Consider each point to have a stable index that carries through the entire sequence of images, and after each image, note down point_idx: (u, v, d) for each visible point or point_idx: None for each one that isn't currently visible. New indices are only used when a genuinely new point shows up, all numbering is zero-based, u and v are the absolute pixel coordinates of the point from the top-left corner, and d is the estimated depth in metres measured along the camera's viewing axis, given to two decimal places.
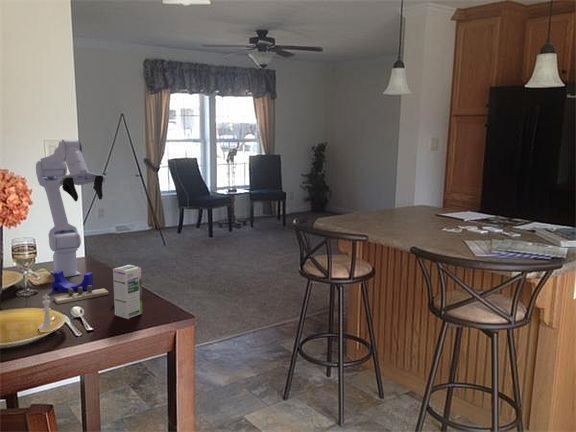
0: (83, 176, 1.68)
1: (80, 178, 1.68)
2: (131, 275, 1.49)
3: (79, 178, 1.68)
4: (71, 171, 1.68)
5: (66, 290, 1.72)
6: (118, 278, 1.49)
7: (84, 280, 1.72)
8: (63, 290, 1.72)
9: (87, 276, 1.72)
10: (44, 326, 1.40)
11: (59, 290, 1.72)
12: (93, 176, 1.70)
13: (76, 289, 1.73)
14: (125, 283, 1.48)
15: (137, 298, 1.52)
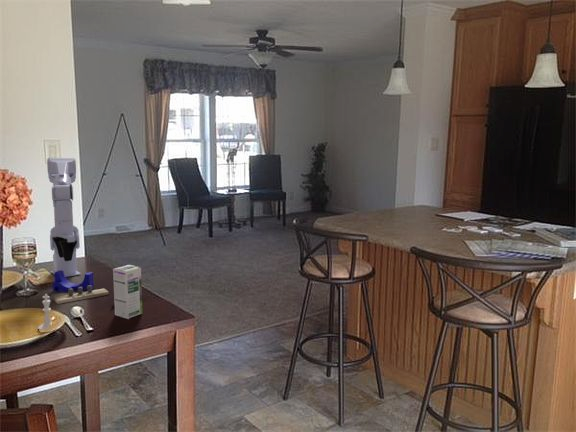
0: None
1: None
2: (131, 275, 1.49)
3: None
4: None
5: (67, 290, 1.72)
6: (118, 278, 1.49)
7: (85, 280, 1.73)
8: (64, 290, 1.72)
9: (88, 276, 1.72)
10: (44, 326, 1.40)
11: (60, 290, 1.72)
12: None
13: (77, 289, 1.73)
14: (125, 283, 1.48)
15: (137, 298, 1.52)
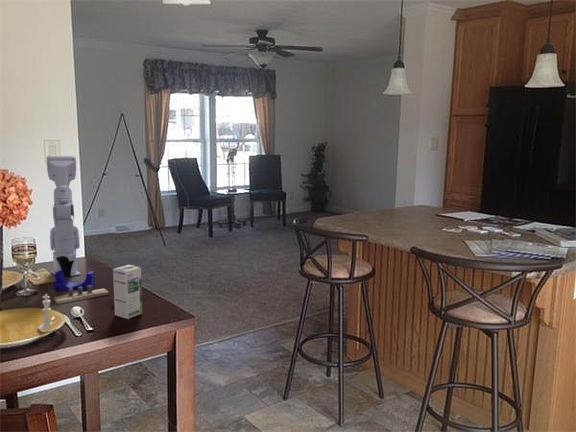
0: None
1: None
2: (131, 275, 1.49)
3: None
4: None
5: None
6: (118, 278, 1.49)
7: (87, 279, 1.74)
8: (65, 290, 1.73)
9: (90, 275, 1.74)
10: (44, 326, 1.40)
11: (61, 290, 1.73)
12: None
13: None
14: (125, 283, 1.48)
15: (137, 298, 1.52)
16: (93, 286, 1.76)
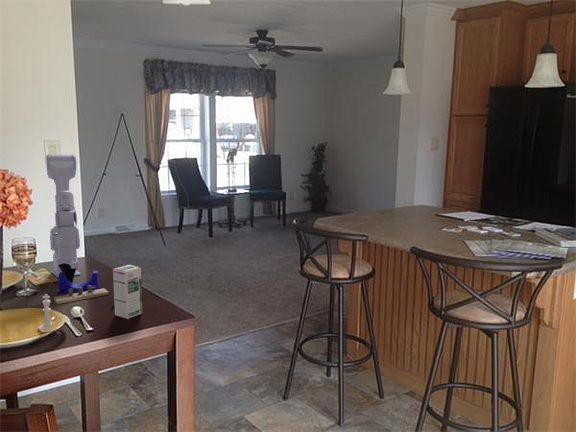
0: None
1: None
2: (131, 275, 1.49)
3: None
4: None
5: (75, 290, 1.71)
6: (118, 278, 1.49)
7: (93, 278, 1.73)
8: None
9: (96, 274, 1.73)
10: (44, 326, 1.40)
11: (67, 291, 1.70)
12: None
13: (84, 288, 1.73)
14: (125, 283, 1.48)
15: (137, 298, 1.52)
16: None
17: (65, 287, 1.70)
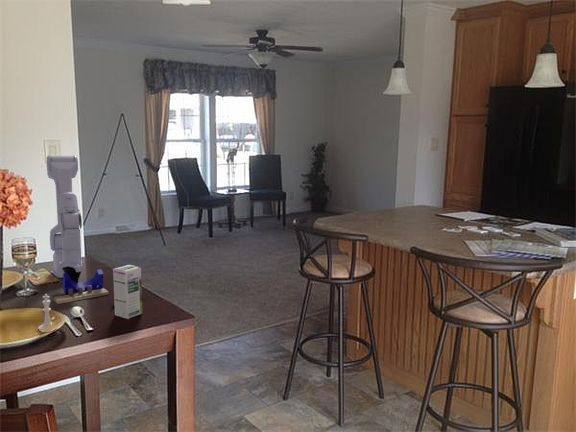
0: None
1: None
2: (131, 275, 1.49)
3: None
4: None
5: None
6: (118, 278, 1.49)
7: (98, 279, 1.72)
8: None
9: (102, 275, 1.72)
10: (44, 326, 1.40)
11: (73, 293, 1.68)
12: None
13: None
14: (125, 283, 1.48)
15: (137, 298, 1.52)
16: None
17: None
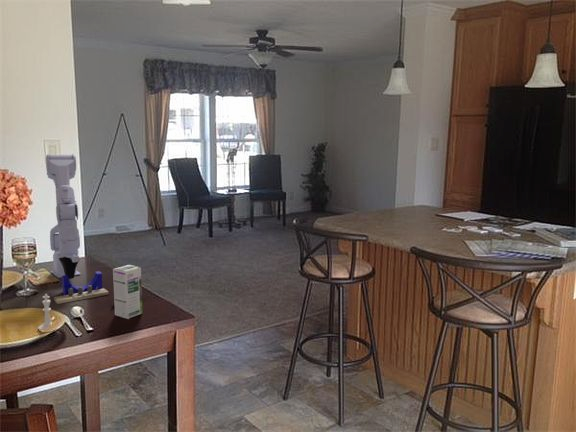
0: None
1: None
2: (131, 275, 1.49)
3: None
4: None
5: None
6: (118, 278, 1.49)
7: (97, 279, 1.74)
8: None
9: (100, 274, 1.74)
10: (44, 326, 1.40)
11: None
12: None
13: None
14: (125, 283, 1.48)
15: (137, 298, 1.52)
16: None
17: None
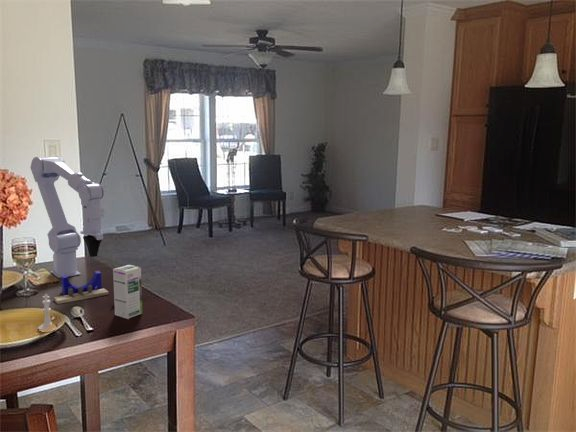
0: None
1: None
2: (131, 275, 1.49)
3: None
4: None
5: None
6: (118, 278, 1.49)
7: (96, 279, 1.74)
8: None
9: (100, 274, 1.74)
10: (44, 326, 1.40)
11: (73, 293, 1.69)
12: None
13: None
14: (125, 283, 1.48)
15: (137, 298, 1.52)
16: None
17: None
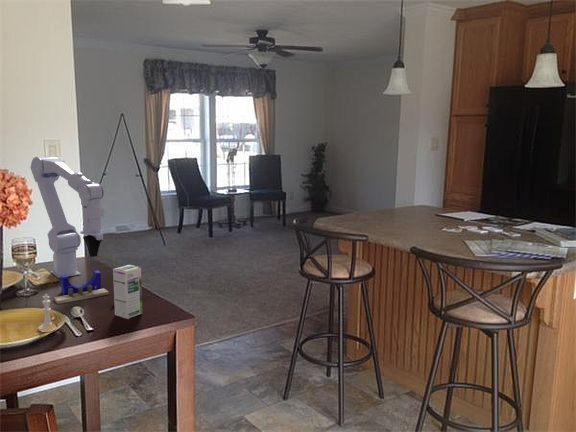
0: None
1: None
2: (131, 275, 1.49)
3: None
4: None
5: None
6: (118, 278, 1.49)
7: (96, 278, 1.74)
8: (77, 292, 1.70)
9: (99, 274, 1.75)
10: (44, 326, 1.40)
11: None
12: None
13: None
14: (125, 283, 1.48)
15: (137, 298, 1.52)
16: None
17: None
